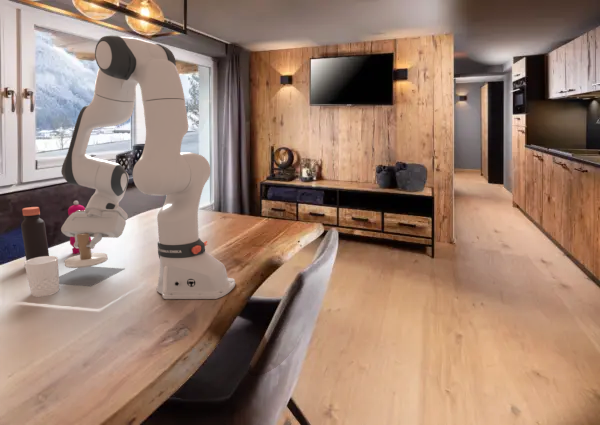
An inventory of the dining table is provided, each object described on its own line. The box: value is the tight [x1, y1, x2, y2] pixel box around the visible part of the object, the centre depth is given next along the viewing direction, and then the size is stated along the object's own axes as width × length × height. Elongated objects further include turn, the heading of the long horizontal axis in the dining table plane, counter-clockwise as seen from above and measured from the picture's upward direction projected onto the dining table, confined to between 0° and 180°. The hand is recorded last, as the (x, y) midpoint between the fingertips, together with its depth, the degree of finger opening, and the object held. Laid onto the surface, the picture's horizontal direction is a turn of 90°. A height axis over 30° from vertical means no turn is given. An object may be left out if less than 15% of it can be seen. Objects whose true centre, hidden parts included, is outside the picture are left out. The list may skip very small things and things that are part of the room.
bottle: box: [20, 206, 50, 261], centre depth 140 cm, size 7×7×20 cm
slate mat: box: [59, 266, 125, 287], centre depth 129 cm, size 16×16×1 cm
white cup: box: [24, 255, 60, 298], centre depth 115 cm, size 8×8×10 cm
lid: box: [63, 233, 109, 269], centre depth 127 cm, size 12×12×9 cm
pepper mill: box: [67, 200, 92, 255], centre depth 155 cm, size 7×7×20 cm
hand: (83, 247), depth 126 cm, fingers closed on lid, 3 cm apart
